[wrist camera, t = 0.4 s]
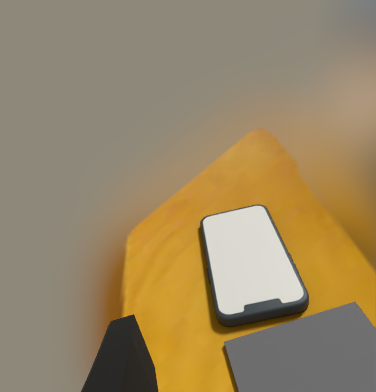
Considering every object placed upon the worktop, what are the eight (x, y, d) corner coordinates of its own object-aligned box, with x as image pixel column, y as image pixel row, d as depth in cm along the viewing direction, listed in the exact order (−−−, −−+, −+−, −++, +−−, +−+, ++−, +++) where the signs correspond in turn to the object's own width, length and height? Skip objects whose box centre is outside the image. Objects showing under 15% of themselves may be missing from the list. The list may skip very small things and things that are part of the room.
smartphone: (200, 226, 44) (218, 332, 30) (198, 216, 43) (215, 321, 29) (266, 211, 43) (314, 312, 30) (265, 201, 42) (314, 301, 29)
